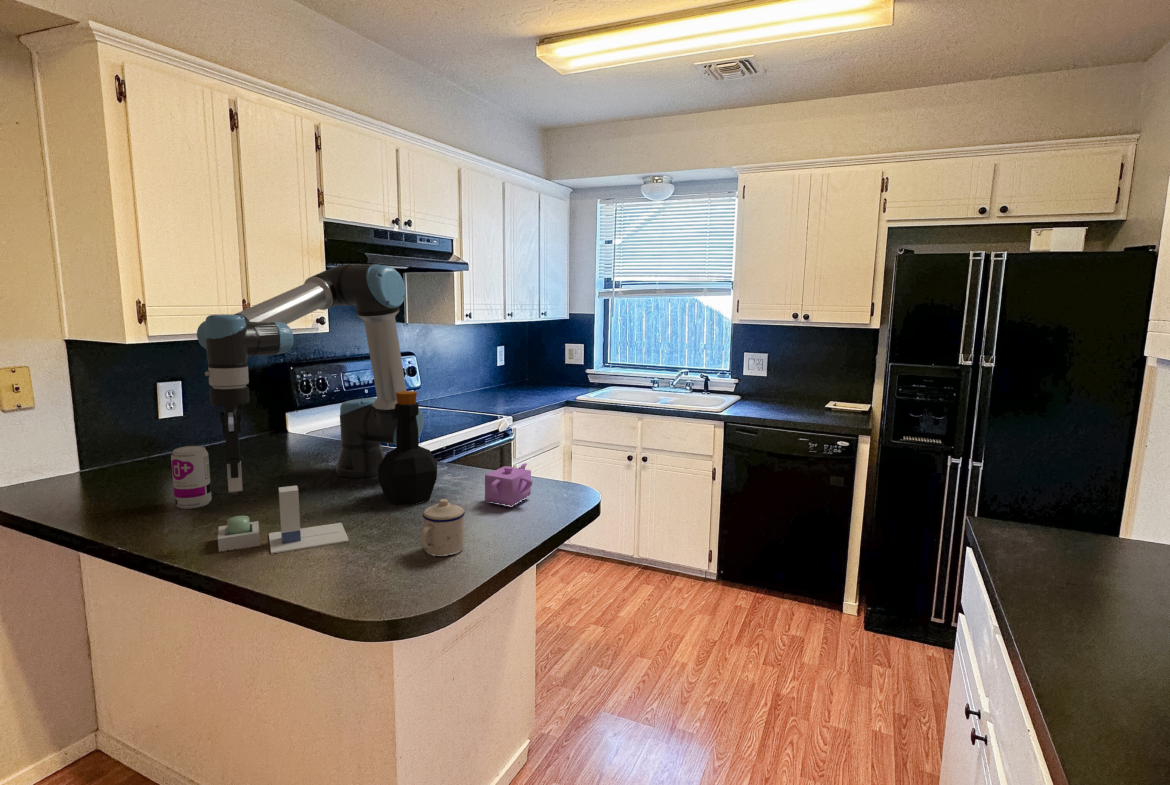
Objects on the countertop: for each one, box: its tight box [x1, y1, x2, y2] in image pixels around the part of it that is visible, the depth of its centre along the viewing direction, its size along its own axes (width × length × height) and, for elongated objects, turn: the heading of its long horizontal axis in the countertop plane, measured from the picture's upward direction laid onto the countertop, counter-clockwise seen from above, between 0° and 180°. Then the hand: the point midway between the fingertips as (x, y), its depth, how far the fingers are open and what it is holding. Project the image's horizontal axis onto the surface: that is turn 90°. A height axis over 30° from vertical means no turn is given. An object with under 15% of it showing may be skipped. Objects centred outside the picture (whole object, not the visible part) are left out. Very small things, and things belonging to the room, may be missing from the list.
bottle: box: [377, 390, 438, 506], centre depth 171 cm, size 16×16×30 cm
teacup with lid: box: [419, 498, 466, 555], centre depth 138 cm, size 12×9×12 cm
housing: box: [217, 520, 261, 553], centre depth 141 cm, size 8×8×3 cm
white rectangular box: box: [278, 485, 301, 544], centre depth 142 cm, size 4×4×12 cm
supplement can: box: [170, 445, 213, 510], centre depth 163 cm, size 8×8×15 cm
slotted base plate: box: [268, 522, 350, 555], centre depth 145 cm, size 16×12×1 cm
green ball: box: [226, 515, 251, 535], centre depth 141 cm, size 4×4×4 cm
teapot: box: [484, 463, 534, 506], centre depth 172 cm, size 18×14×10 cm
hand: (235, 490), depth 139 cm, fingers closed
